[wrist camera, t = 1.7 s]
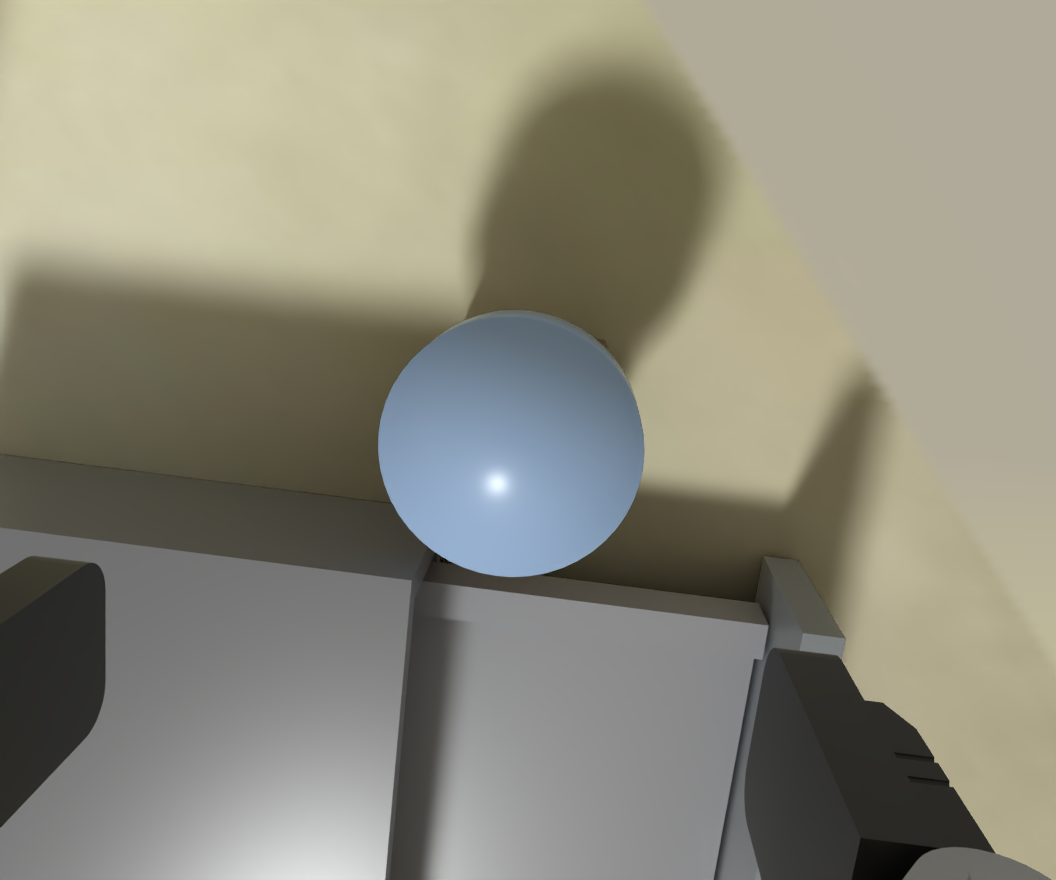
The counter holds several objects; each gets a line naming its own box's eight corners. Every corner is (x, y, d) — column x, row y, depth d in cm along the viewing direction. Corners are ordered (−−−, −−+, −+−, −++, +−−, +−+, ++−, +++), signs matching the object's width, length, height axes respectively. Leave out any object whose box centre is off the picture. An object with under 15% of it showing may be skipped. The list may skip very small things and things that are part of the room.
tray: (797, 560, 27) (845, 639, 22) (716, 987, 31) (742, 1138, 26) (315, 499, 28) (255, 562, 23) (289, 926, 31) (232, 1063, 26)
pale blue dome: (656, 325, 22) (662, 335, 21) (622, 564, 24) (624, 592, 22) (404, 295, 23) (388, 302, 21) (384, 534, 24) (368, 559, 22)
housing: (445, 510, 28) (411, 580, 23) (404, 940, 31) (366, 1089, 26) (-20, 451, 28) (-161, 507, 23) (-9, 882, 32) (-129, 1017, 27)
